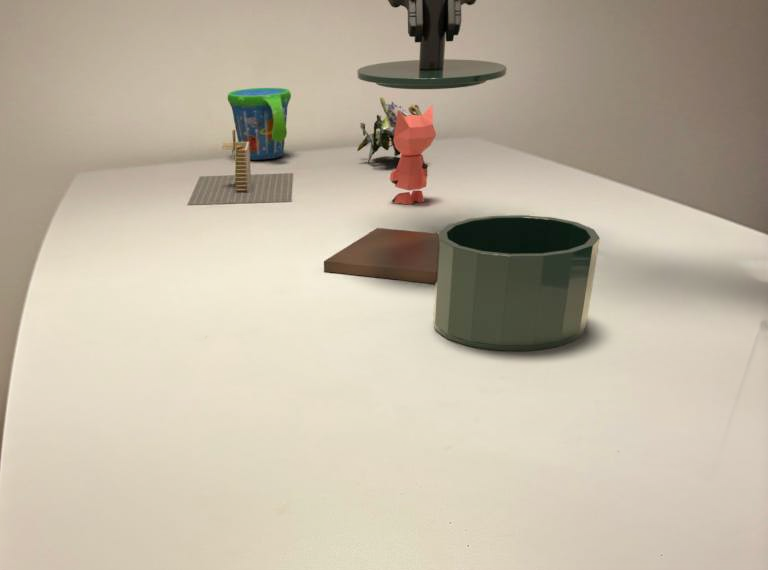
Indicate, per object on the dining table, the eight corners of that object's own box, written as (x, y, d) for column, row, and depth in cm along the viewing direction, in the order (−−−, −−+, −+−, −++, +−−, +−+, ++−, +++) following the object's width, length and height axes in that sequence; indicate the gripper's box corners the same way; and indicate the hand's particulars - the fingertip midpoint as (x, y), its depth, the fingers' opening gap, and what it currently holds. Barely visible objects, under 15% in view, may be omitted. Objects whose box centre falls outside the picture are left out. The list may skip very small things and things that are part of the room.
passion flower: (411, 199, 160) (426, 143, 149) (348, 187, 160) (358, 130, 149) (419, 147, 164) (434, 89, 152) (358, 135, 164) (368, 76, 152)
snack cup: (220, 152, 171) (216, 88, 165) (275, 147, 174) (273, 83, 168) (247, 168, 160) (243, 99, 153) (305, 161, 162) (304, 94, 156)
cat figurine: (416, 193, 140) (420, 101, 133) (445, 201, 136) (451, 106, 128) (377, 200, 138) (379, 107, 130) (405, 209, 133) (409, 112, 126)
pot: (599, 311, 96) (613, 222, 91) (563, 359, 86) (577, 262, 81) (461, 295, 102) (467, 210, 96) (412, 339, 91) (416, 247, 86)
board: (513, 250, 115) (515, 240, 114) (472, 288, 103) (472, 277, 103) (376, 237, 121) (377, 227, 121) (323, 271, 110) (323, 260, 109)
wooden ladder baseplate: (187, 204, 140) (181, 144, 135) (199, 176, 155) (194, 121, 151) (291, 201, 139) (289, 140, 134) (293, 173, 155) (291, 117, 150)
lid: (523, 73, 103) (532, -18, 98) (478, 94, 92) (486, -7, 87) (390, 70, 109) (392, -16, 104) (333, 89, 98) (332, -6, 93)
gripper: (366, -145, 95) (367, 9, 93) (505, -151, 95) (510, 4, 92) (363, -79, 103) (365, 65, 101) (493, -85, 102) (497, 60, 100)
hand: (434, 35), depth 97 cm, fingers closed on lid, 2 cm apart
